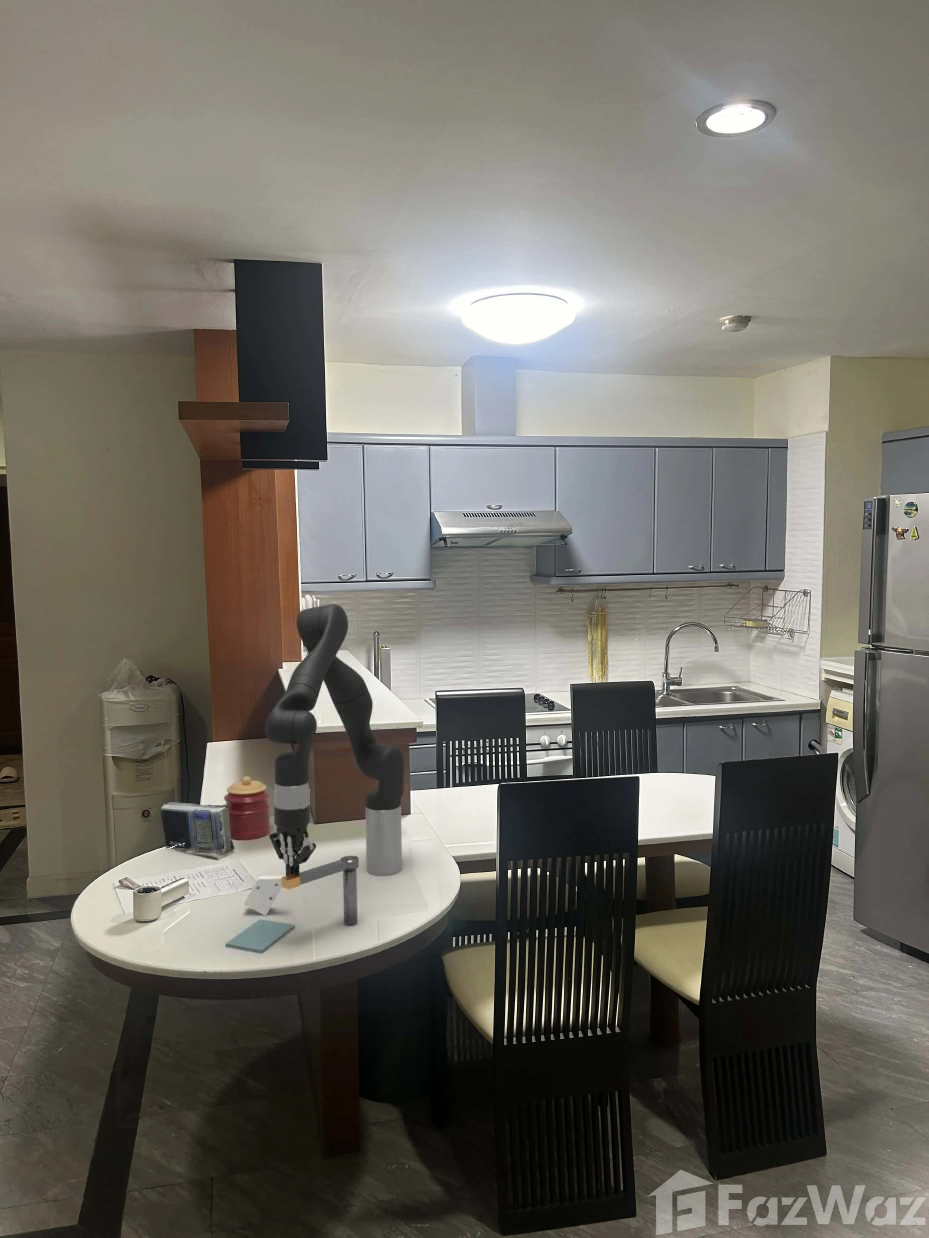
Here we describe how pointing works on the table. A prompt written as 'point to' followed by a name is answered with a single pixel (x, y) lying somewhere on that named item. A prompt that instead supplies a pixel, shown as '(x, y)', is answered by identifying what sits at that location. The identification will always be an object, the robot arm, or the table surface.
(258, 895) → the white angled block
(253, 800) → the canister
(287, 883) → the grey and orange bar
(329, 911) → the table surface
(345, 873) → the post
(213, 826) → the radio
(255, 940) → the slate mat
